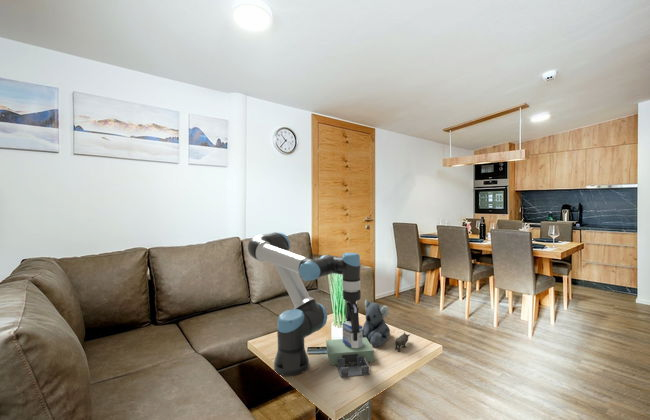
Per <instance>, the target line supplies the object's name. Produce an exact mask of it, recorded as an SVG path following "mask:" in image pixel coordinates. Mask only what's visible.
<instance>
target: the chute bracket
mask: <svg viewBox="0 0 650 420" xmlns="http://www.w3.org/2000/svg"><path fill="white" fill-rule="evenodd" d="M336 367H337V370H338V374H339V377H340V378H349V377H360V376H369V375H370V365H369V363H368V362H367V361H366V359H365V357H364V356H359V357H357V363H347V364H345V358H338V364H336Z"/></svg>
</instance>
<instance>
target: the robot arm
mask: <svg viewBox="0 0 650 420" xmlns="http://www.w3.org/2000/svg"><path fill="white" fill-rule="evenodd" d="M290 244H291V242H290V238H289V237H288V236H287V235H286V234H285V233H283V232H272V233H271V232H270V233H262V234H256V235H254V236H253V237H252V238H250V240H249V241H248V244H247V252H248V254H249V255H250V256H251V257H252V258H253V259H255V260H257V261H259V262H263V261H266V262H269V263H271V264H273V265H274V267H275V269H276V272H277V273H278V275H279V277H280V279H281V282H282V284H283V286H284V288H285V290H286V292H287V293H288V295H289V298H290V300H291V302H292V304H293V306H294V307H293V308H292V309H287V310H285V311H283V312H282V313H280V314H279V316H278V317H277V324H276V328H277V331H276V333H277V352H276V355H275V358H274V361H273V368H274V369H273V370H274V371H275V372H276V373H277V374H278V375H280V376H284V377H285V376H286V377H291V376H297V375H300V374H302V373H305V372H306V371H307V370H308V369H309V366H310V365H309V357H308V354H307V352H306V347H305V338H307V337H309V336H310V335H312V334H314V333H315V332H318V331H320V330H321V329H323V328H324V327H325V326H326V324H327V320H328V312H327V310H326V308H325V306H324V305H323V304H321V303H319V302H317V301H316V299H315V298H313V297H311V296H310V294H309V293H308V291H307V288H306V286H305V284H304V283H303V281H305V282H310V281H315V280H317V279H320V278H322V277H326V276H329V275H332V274H335V275H342V299H343V300H344V301H345V320H346V321H345V322H347V321H351V326H352V331H351V332H350V333H351V343H352V348H358V333H360V331H359V325H360V319H359V307H358V304H357V301H360V300H361V297H362V296H361V294H362V293H361V284H362V281H361V257H360V254H359V253H356V252H345V253H343V254H342V255H341V256H338V255H337V256H336V255H330V254H328V255H327V254H325V255H321V256H320V257H319V258H318V259H312V258H309V257H306V256H303V255H301V254H298V253H296V252H292V251H290V248H291V245H290ZM302 280H303V281H302Z"/></svg>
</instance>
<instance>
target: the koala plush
mask: <svg viewBox="0 0 650 420" xmlns="http://www.w3.org/2000/svg"><path fill="white" fill-rule="evenodd" d="M364 306H365V308H364V309H365V322H364V324H363V326H362V338H365V337H366V338H367V339H368V341H370V345H371V346H372V348H373V347H374V348H378V347H380V346H382V345H383V344H385V343H386V342H387V341H388V339H389V337H390V334H391V329H390V327H389V326H388V325H387V323H386V321H385V320H384V318H386V317H387V316H388V315H389V313H390V310H389V306H388V305H385V304H384V305H380V304H379V303H378V302H371V301H370V300H369V299H364Z"/></svg>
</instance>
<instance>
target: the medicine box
mask: <svg viewBox="0 0 650 420" xmlns="http://www.w3.org/2000/svg"><path fill="white" fill-rule="evenodd" d="M362 329H363V326H362V325H360V324H359V331H360V333H358V348H359V347H361V346H362V345H363V340H362ZM351 331H352V326H351V321H344V322H342V339H343V343H345V344H347V345H349V346H351V347H352V343H351V333H350V332H351ZM355 349H357V348H355Z"/></svg>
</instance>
